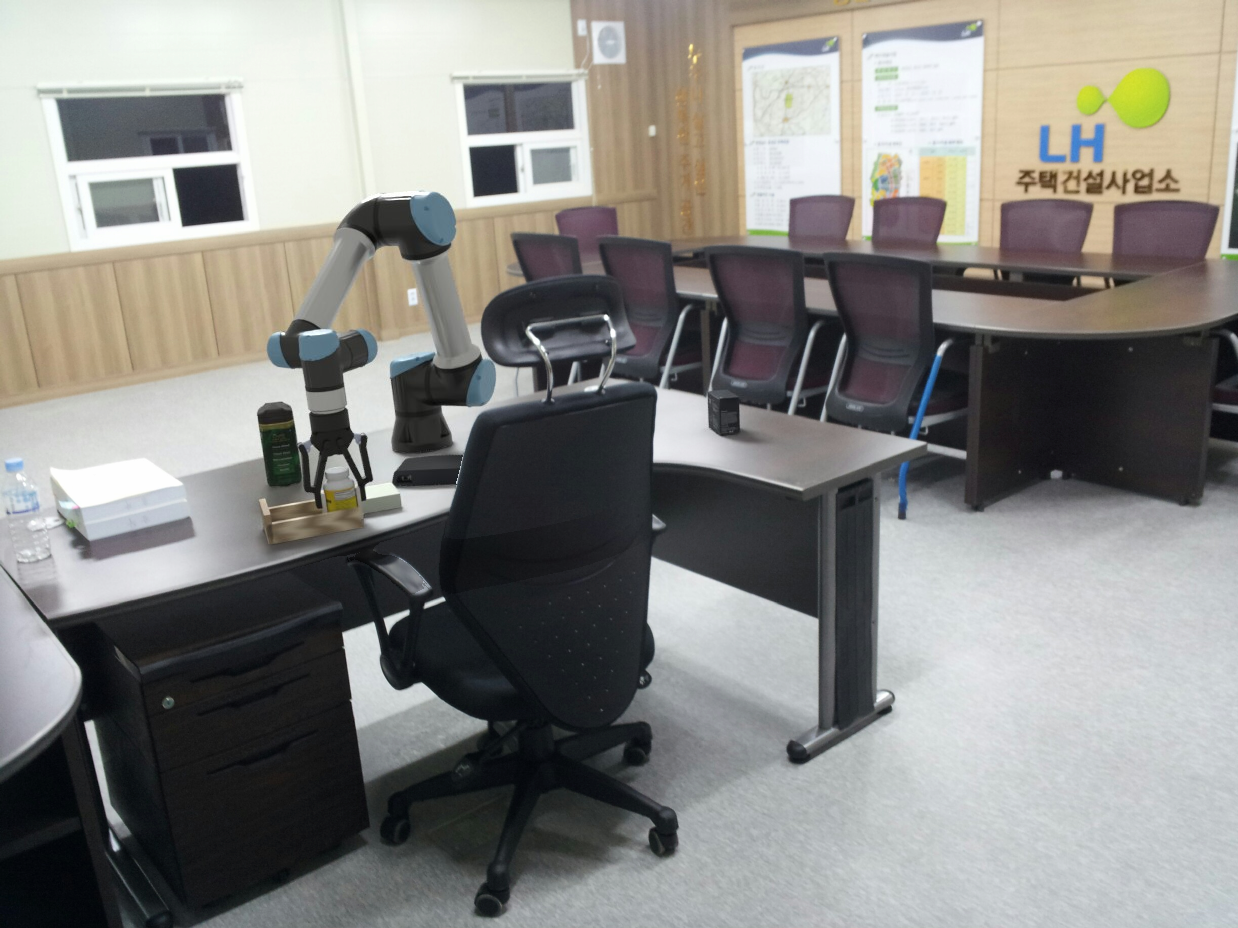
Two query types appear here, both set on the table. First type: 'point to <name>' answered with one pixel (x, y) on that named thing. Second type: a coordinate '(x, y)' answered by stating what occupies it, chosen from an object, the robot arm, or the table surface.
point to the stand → (381, 498)
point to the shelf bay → (305, 521)
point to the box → (723, 412)
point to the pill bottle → (339, 489)
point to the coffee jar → (279, 444)
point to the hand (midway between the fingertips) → (343, 519)
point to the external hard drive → (428, 471)
